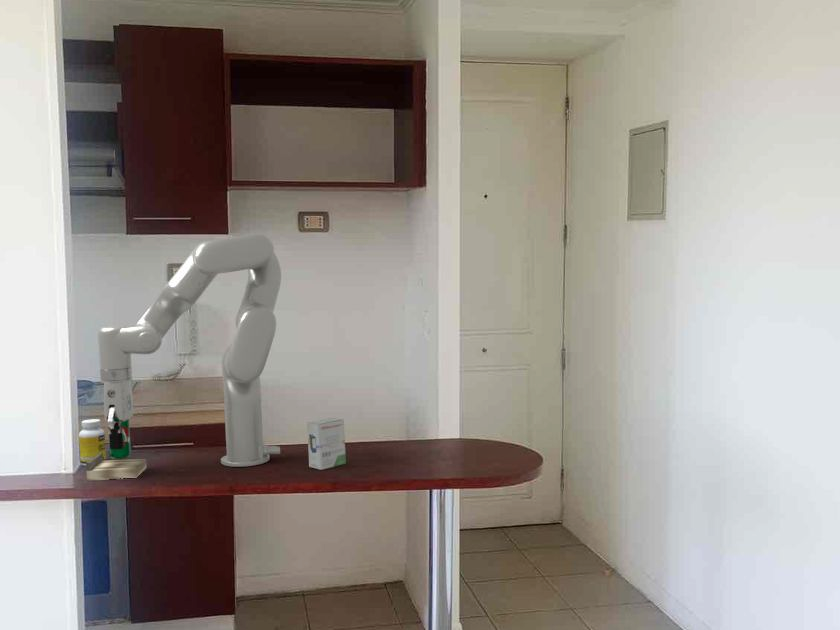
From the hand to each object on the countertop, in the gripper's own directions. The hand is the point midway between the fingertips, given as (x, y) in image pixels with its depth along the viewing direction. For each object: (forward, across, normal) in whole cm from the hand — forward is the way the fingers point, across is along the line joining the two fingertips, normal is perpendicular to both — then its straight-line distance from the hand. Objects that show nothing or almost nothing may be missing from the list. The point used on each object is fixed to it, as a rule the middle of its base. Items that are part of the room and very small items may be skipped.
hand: (119, 445), depth 222 cm
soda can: (+3, 0, 0) cm, 3 cm away
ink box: (+7, 0, -52) cm, 53 cm away
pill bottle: (+8, +13, +11) cm, 19 cm away
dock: (+7, 0, +1) cm, 7 cm away
